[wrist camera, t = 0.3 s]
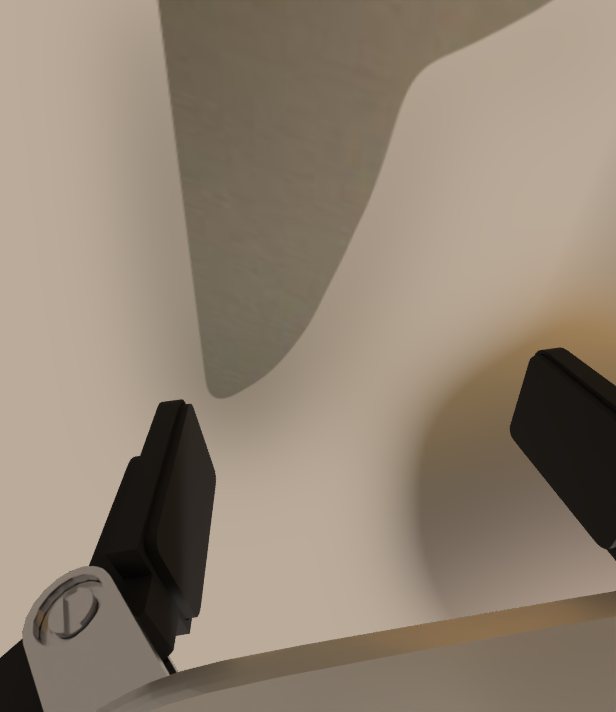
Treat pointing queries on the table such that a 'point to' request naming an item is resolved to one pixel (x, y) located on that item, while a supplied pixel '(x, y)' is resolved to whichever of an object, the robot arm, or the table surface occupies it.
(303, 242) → the table surface
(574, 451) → the robot arm
